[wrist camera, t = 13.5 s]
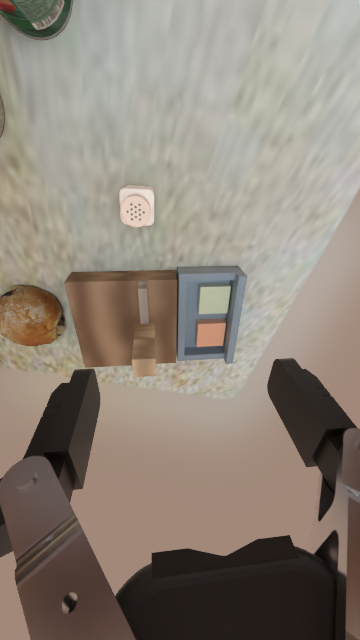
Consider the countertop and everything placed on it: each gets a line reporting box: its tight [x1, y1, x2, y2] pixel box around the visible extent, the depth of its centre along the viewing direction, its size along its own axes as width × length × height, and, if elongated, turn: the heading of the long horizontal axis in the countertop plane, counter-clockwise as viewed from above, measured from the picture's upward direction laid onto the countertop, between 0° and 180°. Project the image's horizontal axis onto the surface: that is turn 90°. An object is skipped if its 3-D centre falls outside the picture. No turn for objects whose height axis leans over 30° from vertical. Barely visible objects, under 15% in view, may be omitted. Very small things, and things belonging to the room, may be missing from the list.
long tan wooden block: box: [132, 280, 156, 377], centre depth 35 cm, size 3×14×11 cm, turn 179°
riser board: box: [64, 270, 177, 368], centre depth 42 cm, size 16×16×4 cm
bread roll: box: [0, 285, 65, 346], centre depth 39 cm, size 10×10×8 cm
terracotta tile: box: [195, 318, 226, 347], centre depth 45 cm, size 5×5×2 cm
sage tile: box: [197, 282, 231, 314], centre depth 42 cm, size 5×5×2 cm
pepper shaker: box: [119, 185, 154, 228], centre depth 30 cm, size 4×4×10 cm
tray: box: [176, 266, 247, 364], centre depth 43 cm, size 10×17×4 cm, turn 179°
